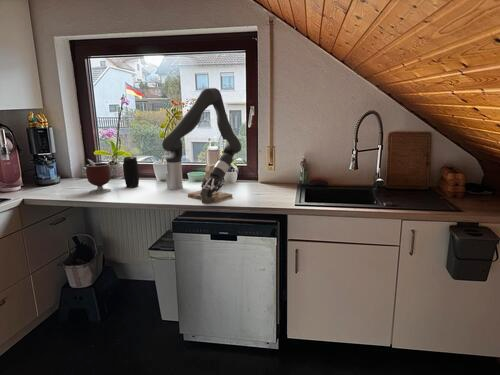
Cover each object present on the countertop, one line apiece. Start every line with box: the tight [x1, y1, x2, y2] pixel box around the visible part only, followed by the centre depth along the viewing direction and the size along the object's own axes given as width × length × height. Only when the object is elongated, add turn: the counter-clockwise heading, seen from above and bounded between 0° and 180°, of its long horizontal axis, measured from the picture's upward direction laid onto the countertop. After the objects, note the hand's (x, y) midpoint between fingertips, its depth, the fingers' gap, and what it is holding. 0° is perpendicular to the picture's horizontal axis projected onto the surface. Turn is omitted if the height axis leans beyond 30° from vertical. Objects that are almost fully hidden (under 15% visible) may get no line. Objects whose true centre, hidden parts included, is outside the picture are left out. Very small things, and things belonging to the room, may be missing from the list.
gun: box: [204, 163, 216, 188], centre depth 235 cm, size 24×3×15 cm, turn 168°
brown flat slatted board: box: [187, 189, 233, 203], centre depth 206 cm, size 22×14×2 cm, turn 51°
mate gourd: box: [85, 158, 112, 195], centre depth 222 cm, size 16×14×20 cm
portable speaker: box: [122, 156, 140, 189], centre depth 235 cm, size 9×9×20 cm
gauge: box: [201, 187, 219, 205], centre depth 195 cm, size 4×10×8 cm, turn 141°
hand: (204, 195), depth 191 cm, fingers open, 4 cm apart
